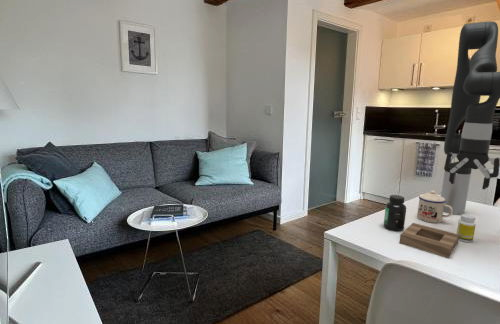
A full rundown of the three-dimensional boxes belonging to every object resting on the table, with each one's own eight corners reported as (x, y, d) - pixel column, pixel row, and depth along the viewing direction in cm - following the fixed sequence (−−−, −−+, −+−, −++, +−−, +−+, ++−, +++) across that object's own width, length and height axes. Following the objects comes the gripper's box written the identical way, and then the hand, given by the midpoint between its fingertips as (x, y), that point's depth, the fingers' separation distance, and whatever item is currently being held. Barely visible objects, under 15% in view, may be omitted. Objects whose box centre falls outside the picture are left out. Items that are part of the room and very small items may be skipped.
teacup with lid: (412, 218, 121) (416, 190, 118) (420, 213, 127) (424, 186, 124) (446, 227, 112) (451, 198, 110) (454, 221, 118) (458, 193, 116)
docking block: (412, 230, 109) (413, 222, 108) (457, 243, 100) (459, 234, 99) (399, 242, 99) (400, 234, 98) (448, 258, 90) (450, 248, 89)
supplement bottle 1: (383, 229, 110) (386, 198, 107) (383, 222, 116) (387, 192, 113) (404, 233, 107) (408, 200, 104) (403, 226, 113) (407, 195, 110)
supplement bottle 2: (475, 243, 100) (479, 219, 98) (459, 241, 101) (463, 218, 99) (468, 237, 104) (472, 214, 103) (453, 235, 105) (457, 213, 104)
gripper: (506, 138, 93) (496, 188, 97) (452, 134, 103) (445, 180, 106) (503, 140, 88) (493, 193, 91) (447, 136, 98) (440, 184, 101)
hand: (467, 186), depth 99 cm, fingers open, 8 cm apart
